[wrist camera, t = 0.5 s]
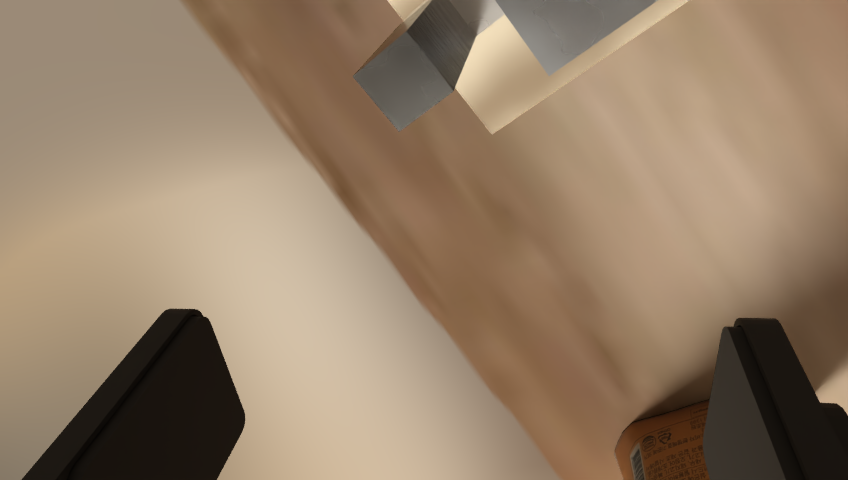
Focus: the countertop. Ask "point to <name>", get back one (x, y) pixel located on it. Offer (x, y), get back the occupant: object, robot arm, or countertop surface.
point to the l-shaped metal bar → (424, 57)
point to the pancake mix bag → (665, 446)
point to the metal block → (567, 25)
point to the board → (527, 64)
